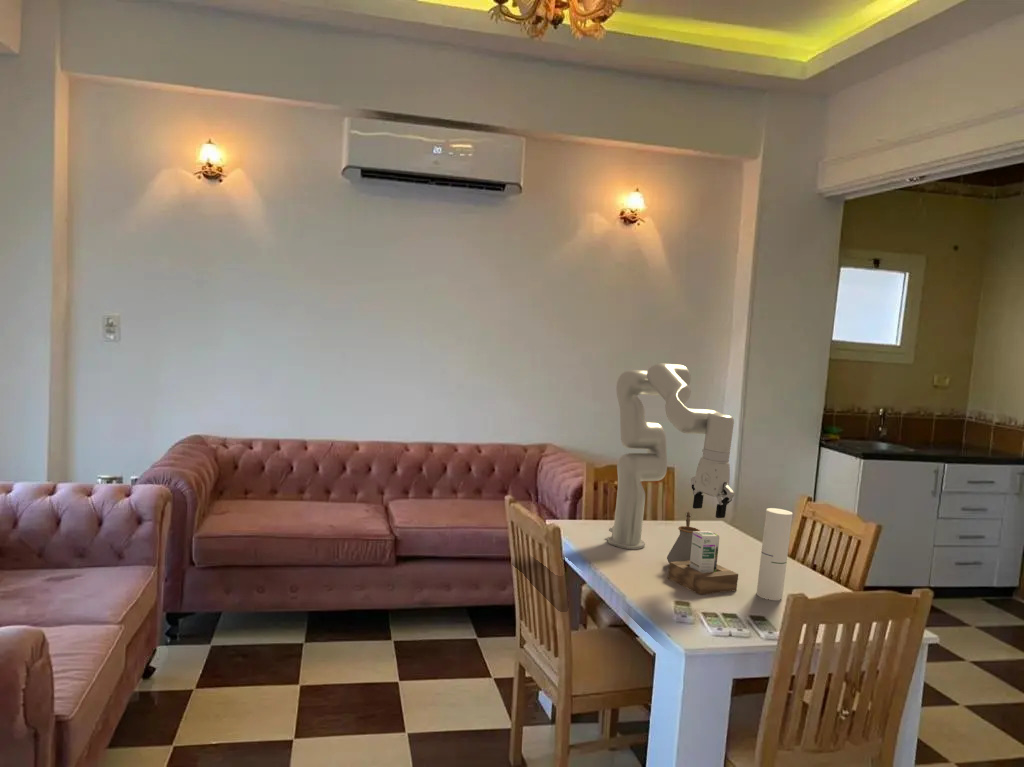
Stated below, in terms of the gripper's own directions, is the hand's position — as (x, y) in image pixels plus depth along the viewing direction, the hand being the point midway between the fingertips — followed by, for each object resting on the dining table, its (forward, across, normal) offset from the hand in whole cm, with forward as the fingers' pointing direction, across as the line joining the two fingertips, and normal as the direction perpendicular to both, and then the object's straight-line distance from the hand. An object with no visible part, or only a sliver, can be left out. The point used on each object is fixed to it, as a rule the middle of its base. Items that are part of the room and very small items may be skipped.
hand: (708, 512), depth 223 cm
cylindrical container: (+21, +14, +14) cm, 29 cm away
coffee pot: (+22, -16, +8) cm, 28 cm away
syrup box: (+21, +1, 0) cm, 21 cm away
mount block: (+22, +1, 0) cm, 22 cm away
